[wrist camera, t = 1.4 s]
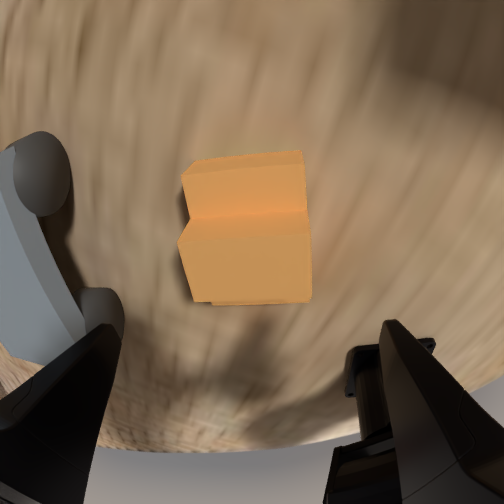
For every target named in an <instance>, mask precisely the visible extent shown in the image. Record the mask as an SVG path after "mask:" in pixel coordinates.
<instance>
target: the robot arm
mask: <svg viewBox="0 0 504 504" xmlns="http://www.w3.org/2000/svg"><path fill="white" fill-rule="evenodd" d="M121 345H122V342H121V338H120V336H119V334H118V333H117V331H116V329H115V327H114V325H113V324H111V323H101V324H99V325H98V326H97V327H95V328H94V329H93V330H91V331H90V332H89V333H88V334H86V335H85V336H84V337H82V338H81V339H80V340H78V341H77V342H76V343H74V344H73V345H72V346H70V347H69V348H68V349H67V350H65V351H64V352H63V353H61V354H60V355H59V356H58V357H56V358H55V359H54V360H52V361H51V362H50V363H49V364H47V365H46V366H45V367H43V368H42V369H41V370H40V371H38V372H37V373H36V374H35V375H34V376H32V377H31V378H30V379H28V380H27V381H26V382H25V383H23V384H22V385H21V386H19V387H18V388H17V389H15V390H14V391H12V392H11V393H10V394H8V395H7V396H5V397H4V398H2V399H1V400H0V504H83V502H84V497H85V492H86V487H87V482H88V477H89V472H90V468H91V463H92V459H93V455H94V451H95V447H96V443H97V439H98V435H99V431H100V427H101V424H102V420H103V416H104V413H105V409H106V406H107V402H108V399H109V396H110V392H111V389H112V386H113V382H114V378H115V373H116V368H117V364H118V359H119V354H120V350H121ZM435 346H436V342H435V340H434V338H426V339H419V340H417V339H416V338H415V337H414V336H413V335H412V334H411V333H410V332H409V331H408V330H407V329H406V328H405V327H404V326H403V325H402V324H401V323H400V322H399V321H398V320H396V319H392V320H385V321H384V322H383V325H382V329H381V333H380V337H379V344H378V345H368V346H359V347H356V348H355V349H354V350H353V353H352V358H351V363H350V368H349V373H348V378H347V383H346V387H345V396H346V397H348V398H350V397H356V400H357V408H358V417H359V426H360V434H361V441H359V442H356V443H353V444H350V445H346V446H339V447H335V448H334V451H333V456H332V461H331V466H330V472H329V476H328V481H327V485H326V489H325V494H324V499H323V504H504V428H503V427H502V426H501V425H500V424H499V423H498V422H497V421H496V420H495V419H493V418H492V417H491V416H490V415H489V414H488V413H487V412H486V411H485V410H484V409H483V408H482V407H481V406H480V405H479V404H478V403H477V402H476V401H475V400H474V399H473V398H472V397H471V396H470V395H469V393H468V392H467V391H466V390H464V388H463V387H462V386H461V385H460V384H459V383H458V382H457V381H456V379H455V378H454V377H453V376H452V375H451V374H450V373H449V372H448V371H447V370H446V369H445V368H444V367H443V366H442V365H441V364H440V363H439V362H438V361H437V359H436V358H435V357H434V356H433V355H432V353H433V350H434V348H435Z"/></svg>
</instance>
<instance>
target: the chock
mask: <svg viewBox="0 0 504 504" xmlns="http://www.w3.org/2000/svg"><path fill="white" fill-rule="evenodd" d="M181 179H182V184H183V189H184V193H185V198H186V202H187V206H188V211H189V215H190V220H189V222H188V224H187V225H186V227H185V229H184V231H183V232H182V234H181V236H180V237H179V239H178V241H177V245H178V248H179V252H180V255H181V259H182V262H183V266H184V269H185V273H186V276H187V280H188V283H189V286H190V289H191V293H192V296H193V299H194V302H211V303H212V306H213V305H255V304H282V303H303V302H310V298H312V256H311V231H310V225H309V218H308V212H307V198H306V180H305V165H304V160H303V156H302V152H301V150H299V151H284V152H271V153H259V154H248V155H239V156H229V157H221V158H213V159H205V160H198V161H194V162H193V163H192V164H191V165H190V166H189V168H188V169H187V170H186V171H185V172H184V173H183V174H182V175H181Z"/></svg>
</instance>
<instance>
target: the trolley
mask: <svg viewBox="0 0 504 504" xmlns="http://www.w3.org/2000/svg"><path fill="white" fill-rule="evenodd" d="M69 188H70V165H69V160H68V157H67V154H66V151H65V149H64V147H63V146H62V144H61V142H60V141H59V140H58V139H57V138H56V137H55V136H53V135H52V134H50V133H48V132H44V131H39V132H35V133H32V134H30V135H28V136H26V137H24V138H22V139H19V140H17V141H15V142H13V143H12V144H10V145H9V146H8V147H7V148H6V149H5V150H4V151H2V152H0V342H1V343H2V344H3V346H4V347H5V348H6V350H7V351H8V352H9V354H10V355H11V356H13V357H16V358H19V359H23V360H26V361H30V362H33V363H37V364H40V365H44V366H46V365H47V364H49V363H50V362H51V361H52V360H54V359H55V358H56V357H58V356H59V355H60V354H61V353H63V352H64V351H65V350H67V349H68V348H69V347H70V346H72V345H73V344H74V343H76V342H77V341H78V340H80V339H81V338H82V337H84V336H85V335H86V334H88V333H89V332H90V331H91V330H93V329H94V328H95V327H97V326H98V325H99V324H101V323H111V324H113V325H114V327H115V329H116V331H117V333H118V334H119V336H120V338H121V341H122V337H123V333H124V313H123V308H122V304H121V302H120V299H119V297H118V296H117V294H116V293H115V292H114V291H113V290H111V289H109V288H80V289H78V290H77V291H75V292H74V293H73V295H71V293H70V291H69V289H68V287H67V286H66V284H65V282H64V280H63V277H62V275H61V273H60V271H59V269H58V267H57V265H56V263H55V261H54V258H53V256H52V254H51V252H50V249H49V247H48V245H47V242H46V240H45V238H44V235H43V233H42V230H41V228H40V225H39V223H38V220H37V218H38V217H43V216H48V215H51V214H54V213H55V212H57V211H58V210H59V209H60V208H61V207H62V205H63V204H64V202H65V200H66V198H67V195H68V192H69Z"/></svg>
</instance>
